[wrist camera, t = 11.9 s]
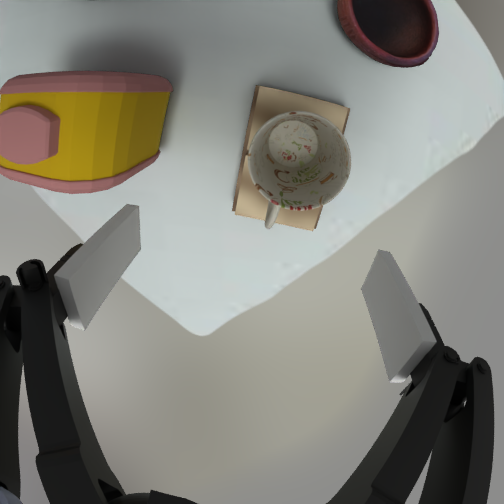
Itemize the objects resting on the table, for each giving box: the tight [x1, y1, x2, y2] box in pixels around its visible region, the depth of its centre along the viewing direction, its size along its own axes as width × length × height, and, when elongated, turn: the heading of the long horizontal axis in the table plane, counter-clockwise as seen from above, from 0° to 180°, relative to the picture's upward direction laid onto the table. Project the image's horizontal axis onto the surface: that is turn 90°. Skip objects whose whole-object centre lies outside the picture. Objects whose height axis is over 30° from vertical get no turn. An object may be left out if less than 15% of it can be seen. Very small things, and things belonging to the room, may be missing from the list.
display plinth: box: [232, 85, 350, 231], centre depth 33 cm, size 16×11×4 cm
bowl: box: [337, 0, 439, 68], centre depth 20 cm, size 16×13×8 cm
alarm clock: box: [0, 71, 173, 194], centre depth 24 cm, size 18×11×19 cm, turn 74°
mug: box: [248, 111, 351, 229], centre depth 27 cm, size 8×13×10 cm, turn 164°
